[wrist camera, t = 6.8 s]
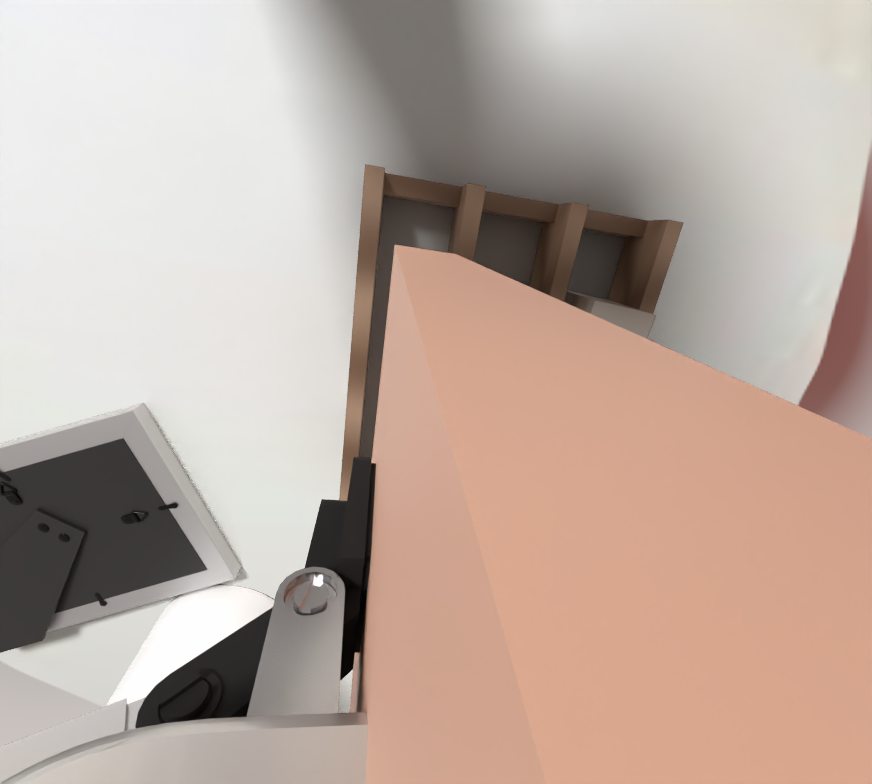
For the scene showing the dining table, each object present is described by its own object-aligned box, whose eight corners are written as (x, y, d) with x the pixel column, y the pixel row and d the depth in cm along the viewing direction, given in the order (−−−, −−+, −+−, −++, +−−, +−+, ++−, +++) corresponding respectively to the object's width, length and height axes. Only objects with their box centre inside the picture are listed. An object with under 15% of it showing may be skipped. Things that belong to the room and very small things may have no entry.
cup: (148, 584, 34) (31, 755, 23) (292, 582, 36) (247, 741, 24) (169, 678, 38) (78, 861, 27) (296, 673, 40) (260, 844, 29)
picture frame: (12, 626, 35) (244, 559, 35) (-19, 658, 32) (232, 586, 32) (-131, 478, 29) (149, 398, 29) (-183, 502, 26) (125, 415, 26)
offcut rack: (368, 174, 25) (365, 164, 21) (643, 224, 27) (683, 222, 24) (344, 481, 32) (338, 513, 29) (561, 495, 35) (581, 526, 31)
